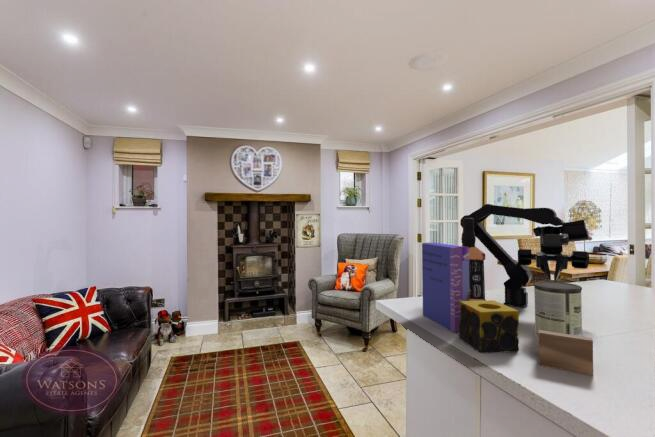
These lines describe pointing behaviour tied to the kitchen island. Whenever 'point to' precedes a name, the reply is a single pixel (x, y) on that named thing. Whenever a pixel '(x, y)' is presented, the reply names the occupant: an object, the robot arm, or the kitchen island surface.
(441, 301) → the cereal box
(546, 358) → the wooden block
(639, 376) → the kitchen island surface
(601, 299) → the kitchen island surface
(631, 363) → the kitchen island surface
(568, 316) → the coffee can
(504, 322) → the yellow cube with hole
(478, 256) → the whiskey bottle
